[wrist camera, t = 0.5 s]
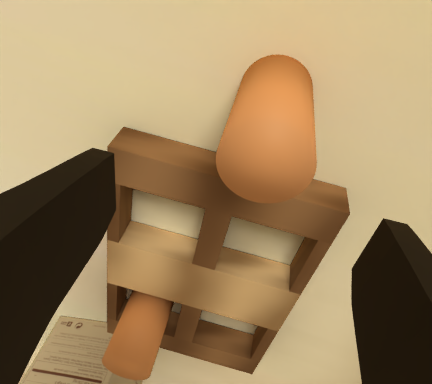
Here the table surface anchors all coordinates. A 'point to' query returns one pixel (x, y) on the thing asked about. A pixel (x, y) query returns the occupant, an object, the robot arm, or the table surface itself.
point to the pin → (137, 336)
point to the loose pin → (270, 133)
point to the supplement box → (74, 355)
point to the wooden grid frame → (210, 250)
